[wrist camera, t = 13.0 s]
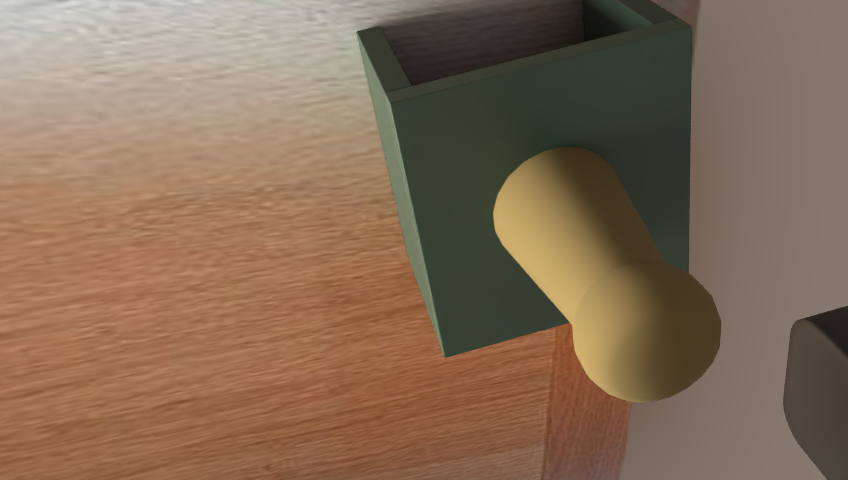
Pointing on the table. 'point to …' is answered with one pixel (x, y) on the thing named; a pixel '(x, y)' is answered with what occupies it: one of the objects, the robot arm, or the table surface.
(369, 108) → the table surface
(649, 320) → the tan game pawn
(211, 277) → the table surface
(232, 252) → the table surface
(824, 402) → the robot arm
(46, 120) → the table surface
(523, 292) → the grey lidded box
